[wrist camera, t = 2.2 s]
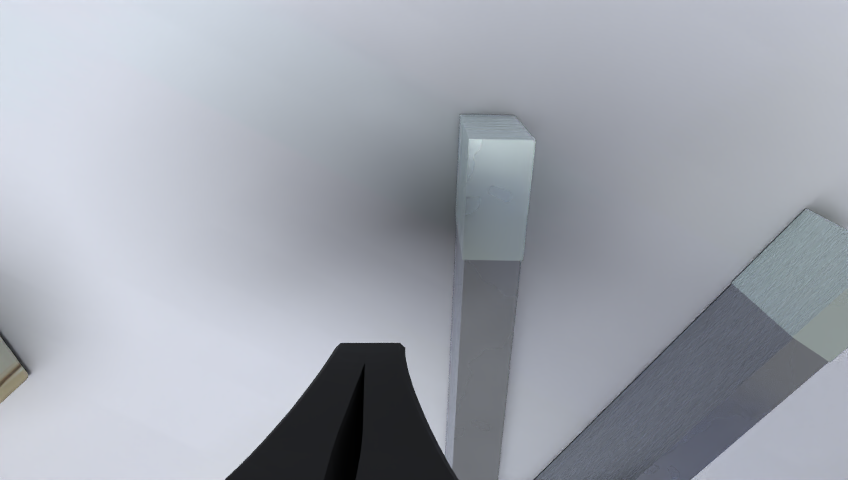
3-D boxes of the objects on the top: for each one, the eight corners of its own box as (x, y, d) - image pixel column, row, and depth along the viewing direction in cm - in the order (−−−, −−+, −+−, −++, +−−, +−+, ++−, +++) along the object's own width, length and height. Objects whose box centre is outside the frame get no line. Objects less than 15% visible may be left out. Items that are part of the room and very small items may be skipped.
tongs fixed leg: (496, 558, 22) (508, 649, 19) (429, 528, 21) (430, 618, 18) (839, 233, 16) (940, 288, 13) (763, 175, 15) (851, 218, 12)
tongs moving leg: (481, 483, 20) (490, 558, 17) (442, 483, 20) (445, 558, 17) (514, 115, 14) (535, 140, 12) (459, 114, 14) (468, 139, 12)
